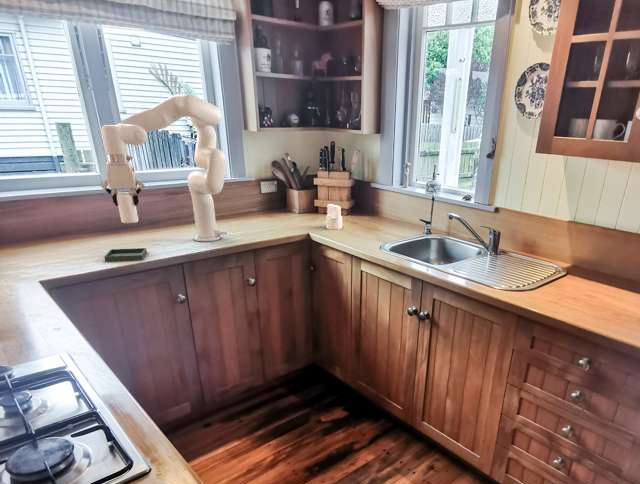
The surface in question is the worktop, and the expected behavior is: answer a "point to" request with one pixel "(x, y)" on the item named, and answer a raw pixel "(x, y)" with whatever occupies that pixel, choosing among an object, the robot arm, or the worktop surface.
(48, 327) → the worktop surface
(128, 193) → the can
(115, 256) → the tray
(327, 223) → the cylinder with rectangular tab
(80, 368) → the worktop surface
